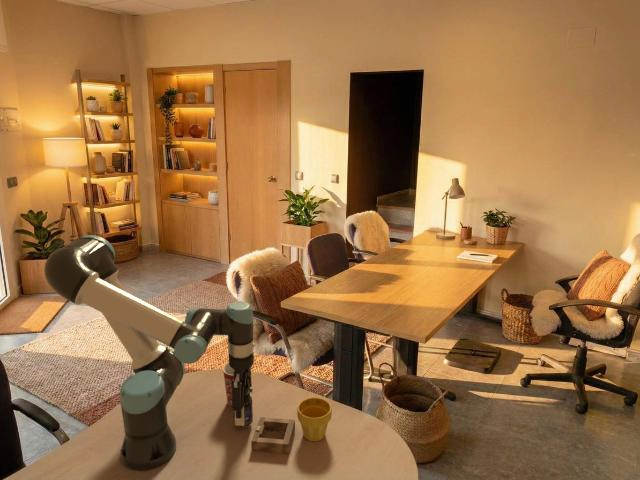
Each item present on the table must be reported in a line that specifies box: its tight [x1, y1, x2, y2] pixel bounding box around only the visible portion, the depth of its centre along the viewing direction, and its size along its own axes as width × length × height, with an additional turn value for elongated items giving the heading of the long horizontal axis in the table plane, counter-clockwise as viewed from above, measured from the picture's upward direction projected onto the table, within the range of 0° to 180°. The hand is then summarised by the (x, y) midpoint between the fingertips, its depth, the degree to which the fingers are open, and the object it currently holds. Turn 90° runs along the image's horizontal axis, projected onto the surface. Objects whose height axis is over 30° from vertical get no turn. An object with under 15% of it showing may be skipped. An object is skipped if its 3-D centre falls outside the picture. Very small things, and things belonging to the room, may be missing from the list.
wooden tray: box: [250, 416, 296, 455], centre depth 147 cm, size 11×11×4 cm
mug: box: [222, 362, 235, 409], centre depth 165 cm, size 13×9×14 cm
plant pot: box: [296, 396, 333, 442], centre depth 148 cm, size 10×10×10 cm
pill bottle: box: [232, 387, 254, 428], centre depth 152 cm, size 6×6×11 cm
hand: (242, 417), depth 153 cm, fingers closed on pill bottle, 6 cm apart
